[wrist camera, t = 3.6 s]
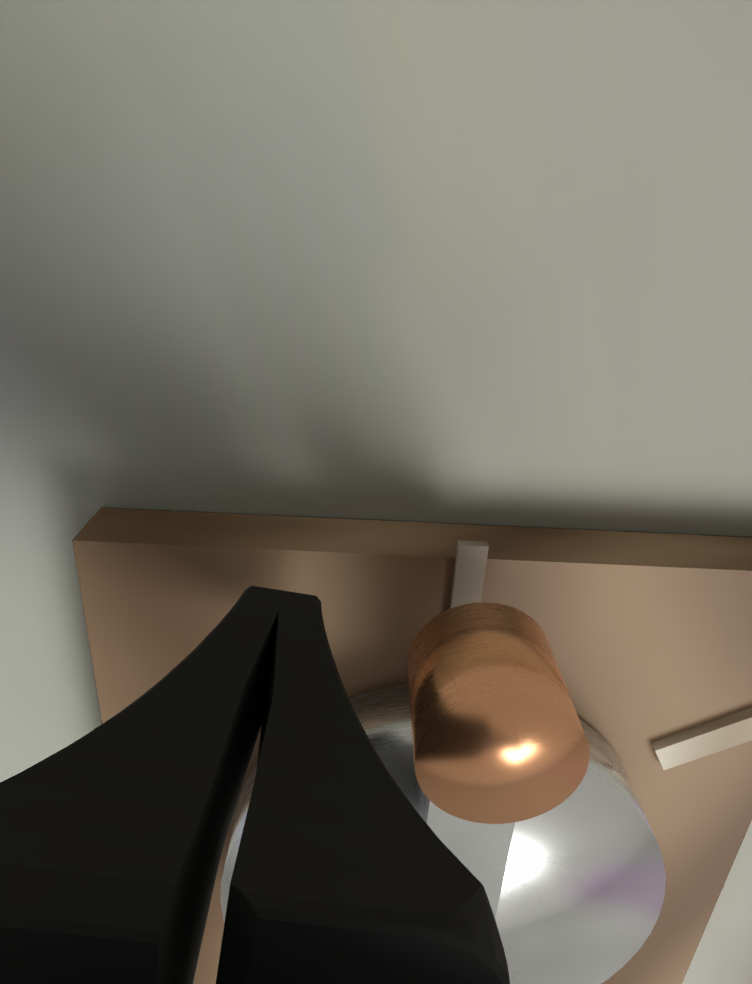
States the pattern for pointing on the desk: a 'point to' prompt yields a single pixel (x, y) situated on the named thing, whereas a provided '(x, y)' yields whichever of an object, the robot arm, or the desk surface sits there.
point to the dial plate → (462, 580)
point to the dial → (515, 794)
